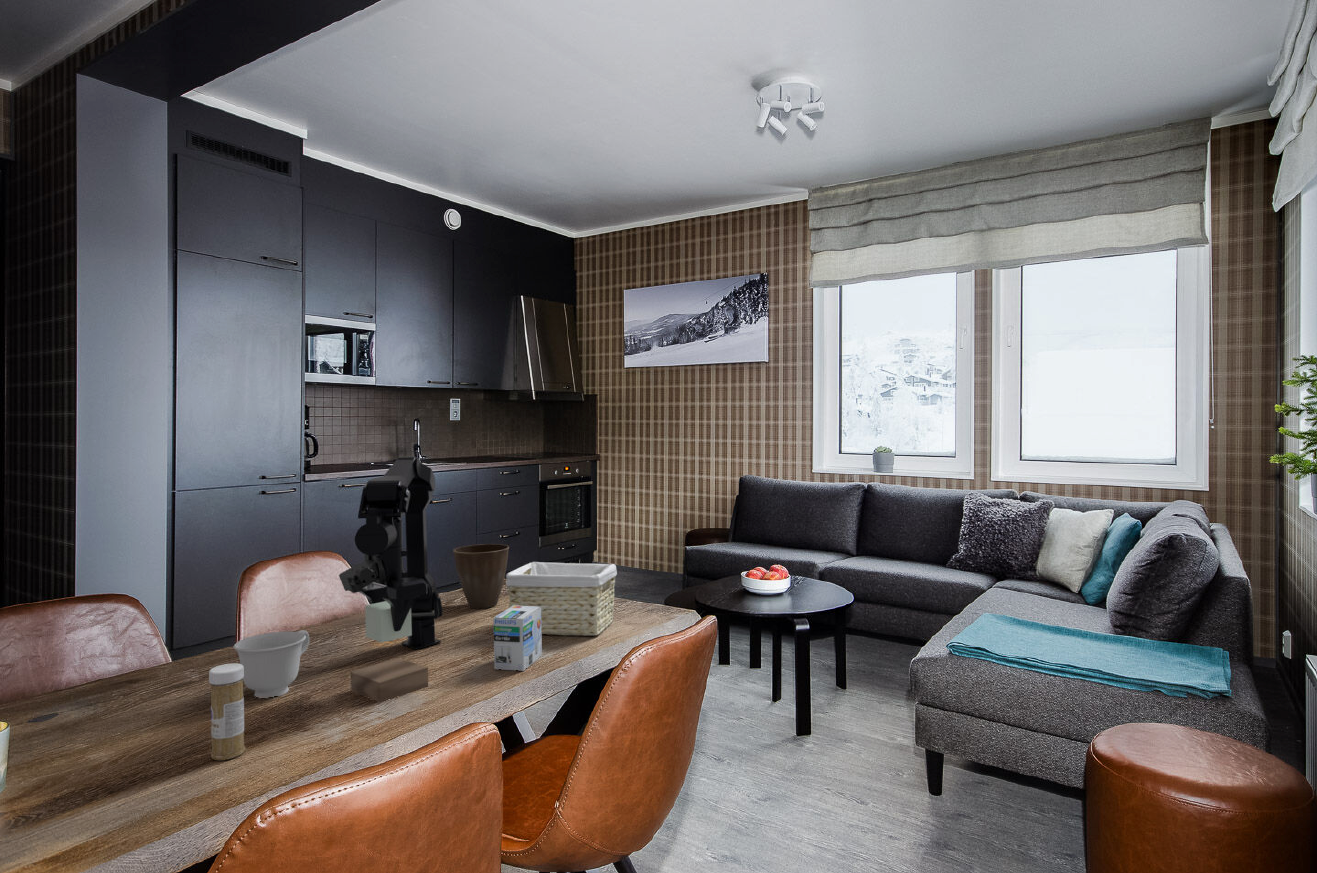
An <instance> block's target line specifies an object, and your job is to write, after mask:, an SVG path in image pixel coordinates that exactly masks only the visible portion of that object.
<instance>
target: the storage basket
mask: <svg viewBox="0 0 1317 873" xmlns="http://www.w3.org/2000/svg"><path fill="white" fill-rule="evenodd" d="M616 576H618V571H617V565H616V564H615V563H608V564H607V563H576V562H575V563H572V562H570V563H568V562H567V563H565V562H544V561H543V562H539V561H532V562H529V563H526V564H524V565H523V566H520V567H518V568H516V569H514V570H512V571H510V572H508V573H506V574H505V577H506V580H505V585H506V586H507V589H508V599H509V602H508V603H509V604H508V606H509V608H510V607H511V606H513V605H518V606H535V607H541V633H542V634H547V635H557V636H585V637H586V636H593V637H594V636H598V635H600V634H601V633H602V632H603V631H604V630H605V629H606V628H608V627H609V626H610V625H611V623H612V622H613V620H614V607H615V586H616Z"/></svg>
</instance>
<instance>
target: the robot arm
mask: <svg viewBox="0 0 1317 873" xmlns="http://www.w3.org/2000/svg"><path fill="white" fill-rule="evenodd" d="M435 489H436V479H435V475H434V472H433V470H432V468H431V467H429V466H428V465H426V464H425V463H422V462H421V460H420V457H416V456H397V458H396V457H395V458H393V461H392V465H391V466H390V467H389V468H388V469H387V471H385V473H384V474H383V476H379V477H374V478H371V479H369V480H368V481H367V482H366V484H365V486H363V487H362V492H361V498H360V503H359V508H358V514H357V519H360V520H361V519H365V524H363V525H361V526H360V527H359V528H358V530H357V532H356V533H355V536H354V544H355V546H356V547H355V548H356V549H357V550H358V551H359V552H361V553H362V554H364V561H362V562H359V563H358V564H355V565H353V566H351V567H350V568H348V569H345V570H344V571H342V572H341V573H339V575H338V577H339V580H340V581H341V585H342V587H343V589H344V591H346V592H347V591H348V592H350V593H352V594H357V593H360V594H361V595H362V596H364V597H366V598H367V600H368V603H369V605H370V604H375V603H379V602H384V601H387V602H388V603H389V604H390V607H391V615H392V622H393V628H394V631H400V630H401V628H402V626H403V624H404V621H405V619H406V617H407V615H408V613H409V610H410V608H411V626H412V635H411V636H407V640H405V641H401V645H403V646H405V647H408V648H410V649H414V650H419V649H422V648H427V647H430V646H434V645H437V644H441V643H442V640H440V639H438V638H436V626H435V620H436V619H439V618H441V617H443V614H444V613H443V604H442V598H441V597H440V594H439V592H438V591H437V589H436V587H437V586H436V585H437V584H436V582H435V579H433V577H432V576H431V574H430V573H429V572H428V570H429V569H428V568H429V565H428V563H429V562H428V539H427V538H428V533H427V532H428V531H427V510H426V509H427V508H428V507H429V504H430V502H431V500H432V499H433V498H434V497H433V496H434V493H433V492H435ZM403 517H404V523H405V525H404V526H405V547H406V548H405V549H404V545H403V543H404V541H403V540H404V539H403V519H402V518H403ZM404 557H406V571H404Z"/></svg>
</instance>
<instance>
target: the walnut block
mask: <svg viewBox="0 0 1317 873" xmlns="http://www.w3.org/2000/svg"><path fill="white" fill-rule="evenodd" d="M425 687H426V688H428V687H429V668H428V667H427V666H424V665H421V664H418V663H415V662H412V661H409V660H406V659H403V658H400V657H396V658H393V659H390V660H386V661H383V662H380V663H377V664H373V665H369V666H365V667H362V668H360V669H359V668H358V669H355V670H352V671H350V692H352V693H354V692H355V694H357V695H359V696H363V697H364V696H366V697H365V698H367V697H369V698H370V699H369V698H368V699H369V700H372V699H373V700H372V701H374V700H376V701H375V702H377V701H378V703H379V702H380V703H379V704H381V703H384V702H387V701H389V700H388V699H390V700H393V699H395V697H396V698H398V697H397V696H399V697H401V696H405V695H407V694H410V693H414V692H416V690H417V691H419V689H420V690H422V688H423V689H425ZM413 691H414V692H413ZM392 698H393V699H392ZM386 700H387V701H386Z"/></svg>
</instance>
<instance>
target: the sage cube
mask: <svg viewBox="0 0 1317 873" xmlns="http://www.w3.org/2000/svg"><path fill="white" fill-rule="evenodd" d="M364 607H365V608H364V610H365V612H364V613H365V638H368V639H371V640H373V641H376V642H378V643H381V644H382V643H387V642H391V641H394V640H399V639H402V638H406V637H407V638H408V636H411V635H412V626H411V608H410V610H409V613H408V615H407V617H406V619H405V621H404V624H403V626H402V628H401V630H400V631H394V628H393V622H392V615H391V607H390V604H389V603H388V602H387V601H384V602H379V603H375V604H370V603H369V604H365V605H364Z"/></svg>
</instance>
